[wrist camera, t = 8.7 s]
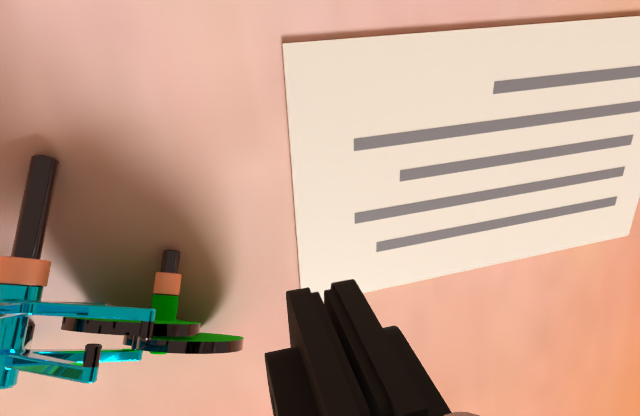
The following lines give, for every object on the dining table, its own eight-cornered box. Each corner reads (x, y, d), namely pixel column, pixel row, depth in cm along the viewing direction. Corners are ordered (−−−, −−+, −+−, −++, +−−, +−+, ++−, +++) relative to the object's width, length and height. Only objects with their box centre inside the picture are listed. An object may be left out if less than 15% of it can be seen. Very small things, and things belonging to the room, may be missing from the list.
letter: (689, 11, 20) (692, 11, 20) (626, 234, 25) (628, 235, 25) (281, 43, 16) (282, 43, 15) (301, 304, 20) (302, 306, 20)
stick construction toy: (-186, 373, 14) (-245, 441, 8) (-123, 149, 15) (-135, 70, 9) (188, 361, 21) (294, 390, 16) (205, 214, 23) (308, 193, 17)
